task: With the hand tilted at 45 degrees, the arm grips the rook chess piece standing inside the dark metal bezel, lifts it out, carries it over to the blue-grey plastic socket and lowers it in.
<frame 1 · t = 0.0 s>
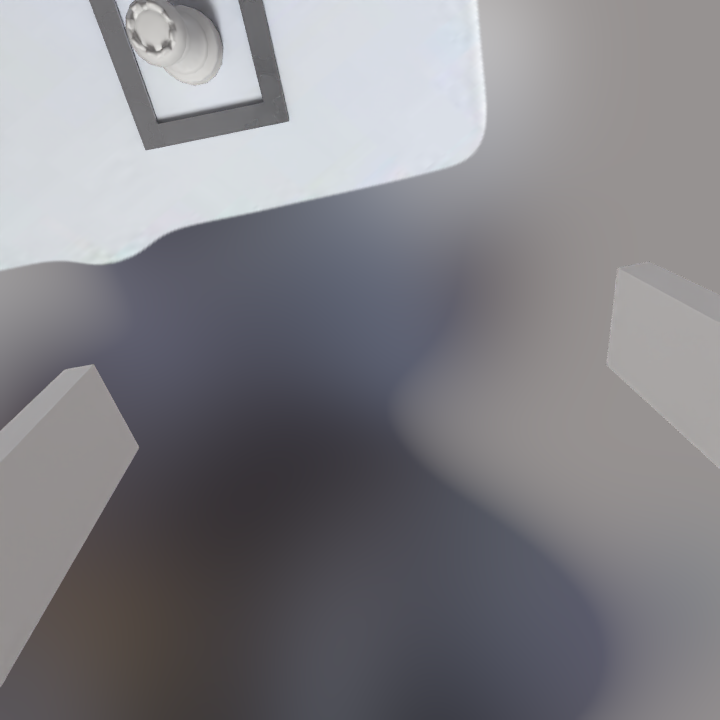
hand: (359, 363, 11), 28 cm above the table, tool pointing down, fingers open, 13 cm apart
rook chess piece: (192, 48, 31), on the table
bezel: (191, 48, 31), on the table
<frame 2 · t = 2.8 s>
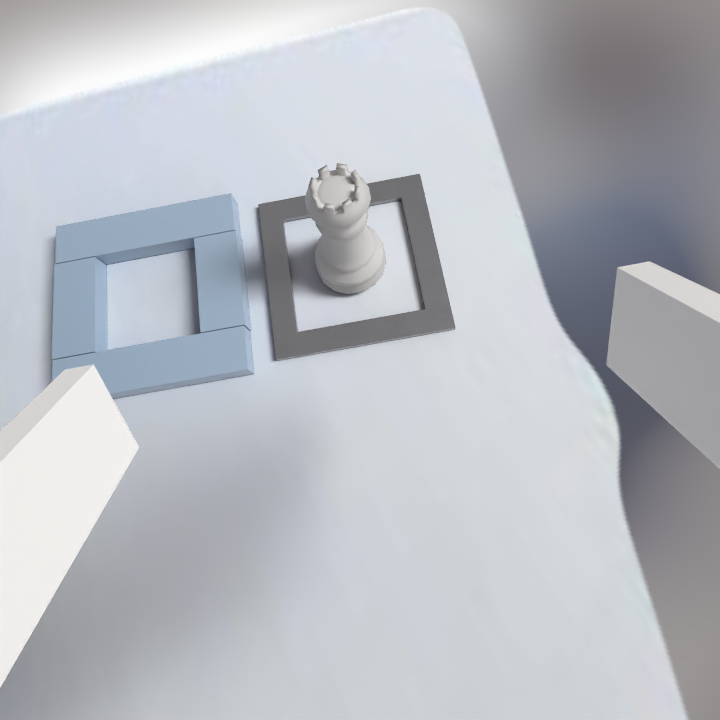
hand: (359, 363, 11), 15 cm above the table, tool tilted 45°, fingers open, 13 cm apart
rook chess piece: (351, 266, 29), on the table
bezel: (351, 264, 29), on the table
socket: (155, 300, 29), on the table
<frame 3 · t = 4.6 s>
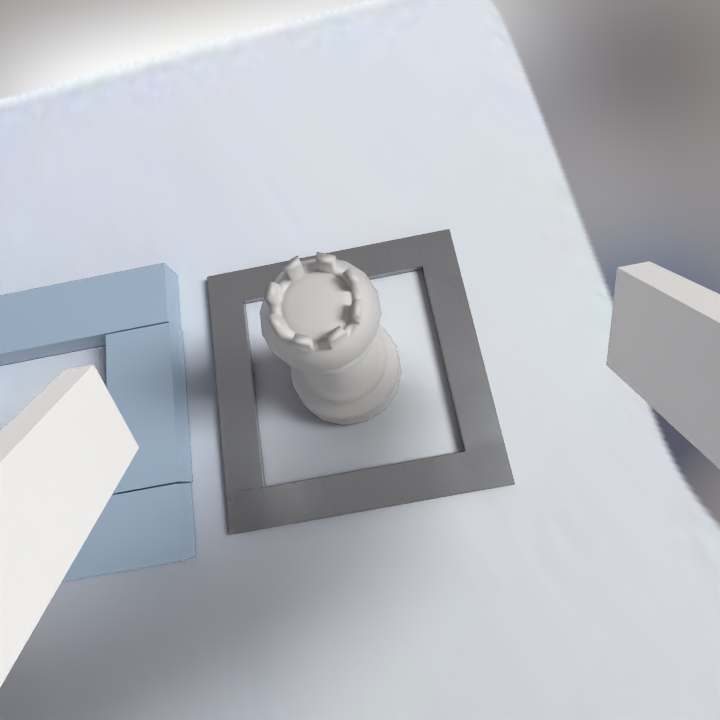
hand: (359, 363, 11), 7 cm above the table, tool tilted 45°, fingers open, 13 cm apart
rook chess piece: (348, 374, 19), on the table
bezel: (347, 372, 19), on the table
socket: (50, 428, 19), on the table
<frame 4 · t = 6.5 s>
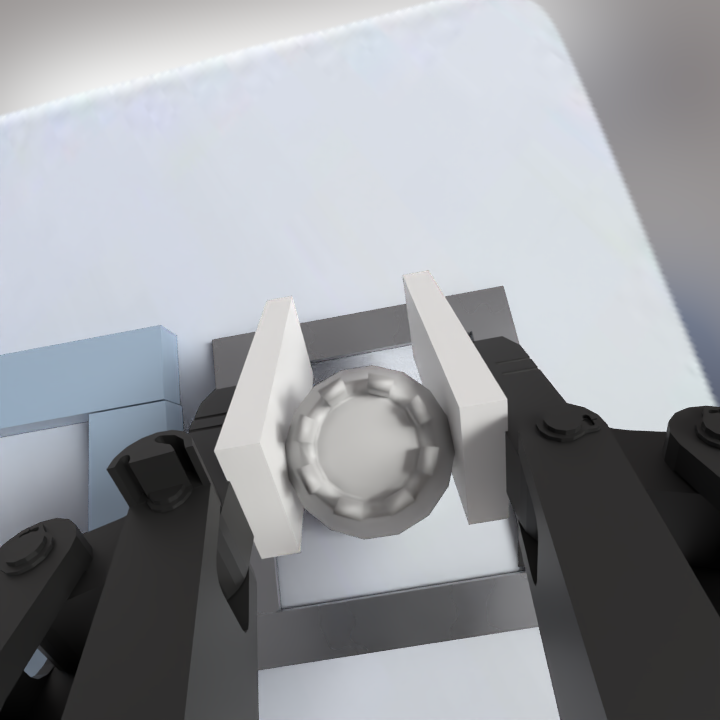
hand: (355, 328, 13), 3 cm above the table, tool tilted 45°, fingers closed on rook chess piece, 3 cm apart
rook chess piece: (382, 462, 15), on the table, touching gripper
bezel: (382, 463, 15), on the table
socket: (21, 525, 16), on the table
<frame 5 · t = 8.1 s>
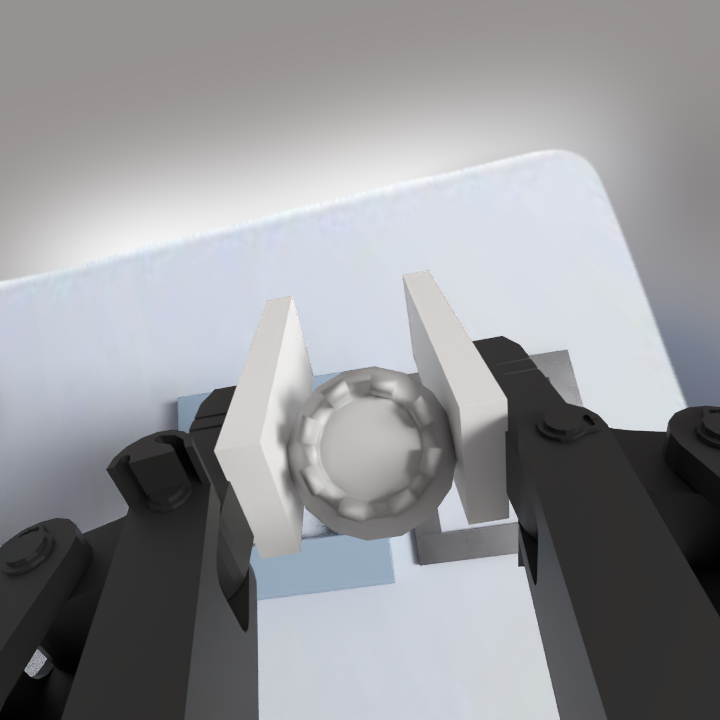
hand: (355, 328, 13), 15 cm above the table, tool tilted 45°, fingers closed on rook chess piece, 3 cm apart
rook chess piece: (383, 463, 15), point 12 cm above the table, touching gripper
bezel: (496, 453, 26), on the table
socket: (283, 483, 27), on the table
when the fingers open (5 cm above the table, at t = 10.7 s): rook chess piece drops 2 cm, on the table.
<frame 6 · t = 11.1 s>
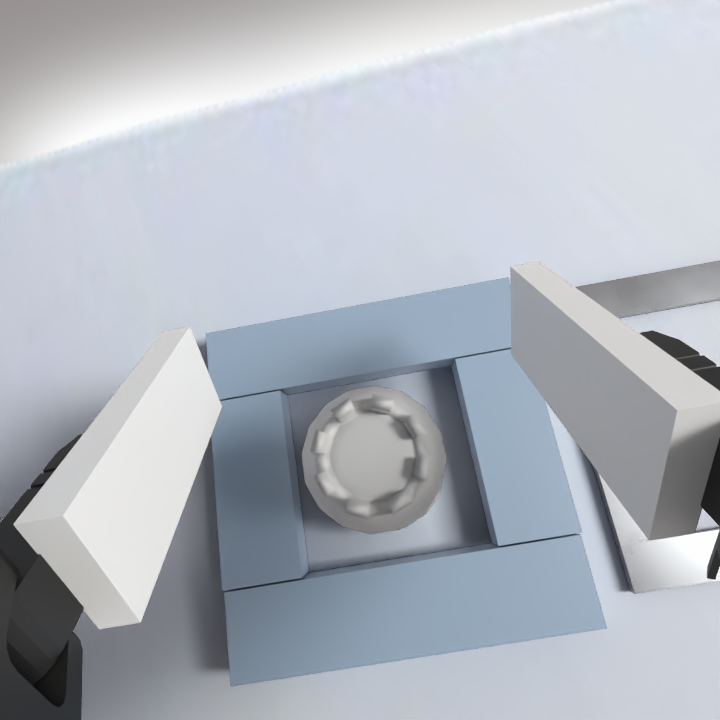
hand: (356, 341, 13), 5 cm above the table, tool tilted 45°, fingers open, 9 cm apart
rook chess piece: (383, 466, 17), on the table
socket: (383, 464, 17), on the table
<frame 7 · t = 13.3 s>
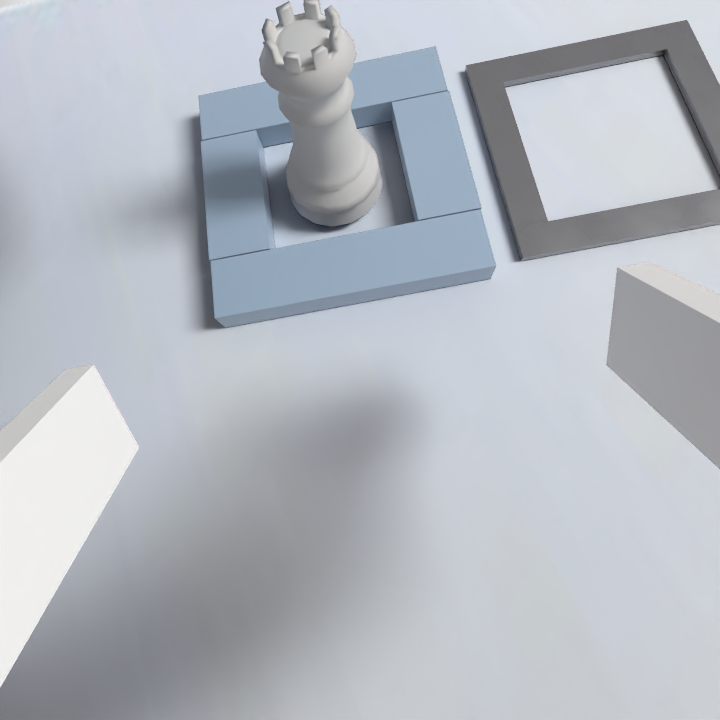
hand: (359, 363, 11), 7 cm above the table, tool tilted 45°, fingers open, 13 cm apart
rook chess piece: (337, 193, 22), on the table
bezel: (607, 136, 21), on the table
socket: (336, 189, 21), on the table
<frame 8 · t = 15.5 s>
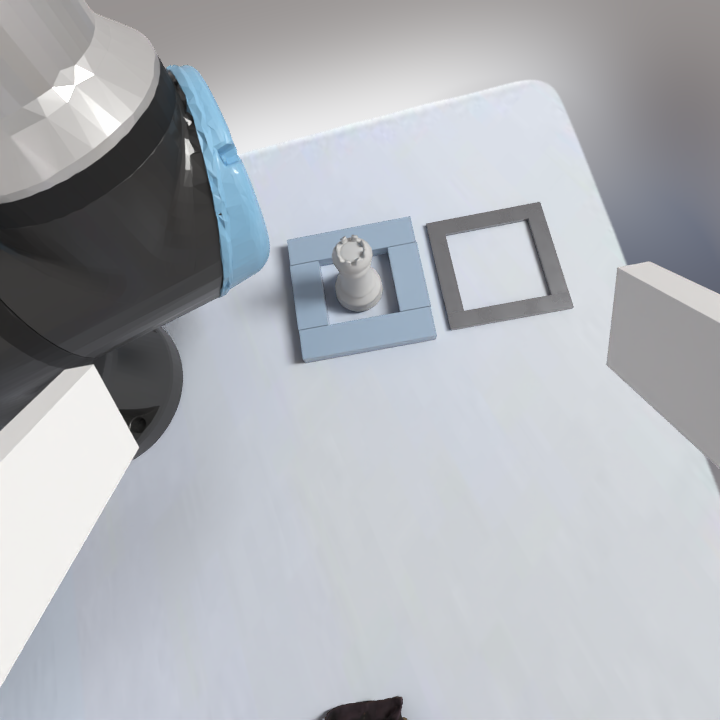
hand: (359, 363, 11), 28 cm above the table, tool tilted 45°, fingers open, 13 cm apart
rook chess piece: (359, 292, 42), on the table
bezel: (496, 265, 42), on the table
socket: (359, 290, 42), on the table
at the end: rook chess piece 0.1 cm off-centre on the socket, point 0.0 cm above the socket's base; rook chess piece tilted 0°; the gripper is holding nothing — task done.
